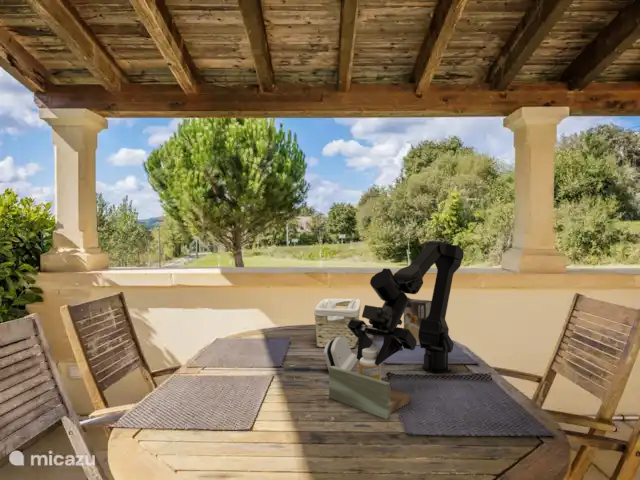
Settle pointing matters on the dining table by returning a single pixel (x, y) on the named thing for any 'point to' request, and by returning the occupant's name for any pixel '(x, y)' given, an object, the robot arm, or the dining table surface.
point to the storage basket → (336, 320)
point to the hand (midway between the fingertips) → (366, 362)
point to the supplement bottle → (370, 363)
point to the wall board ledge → (365, 392)
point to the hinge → (339, 354)
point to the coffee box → (416, 316)
